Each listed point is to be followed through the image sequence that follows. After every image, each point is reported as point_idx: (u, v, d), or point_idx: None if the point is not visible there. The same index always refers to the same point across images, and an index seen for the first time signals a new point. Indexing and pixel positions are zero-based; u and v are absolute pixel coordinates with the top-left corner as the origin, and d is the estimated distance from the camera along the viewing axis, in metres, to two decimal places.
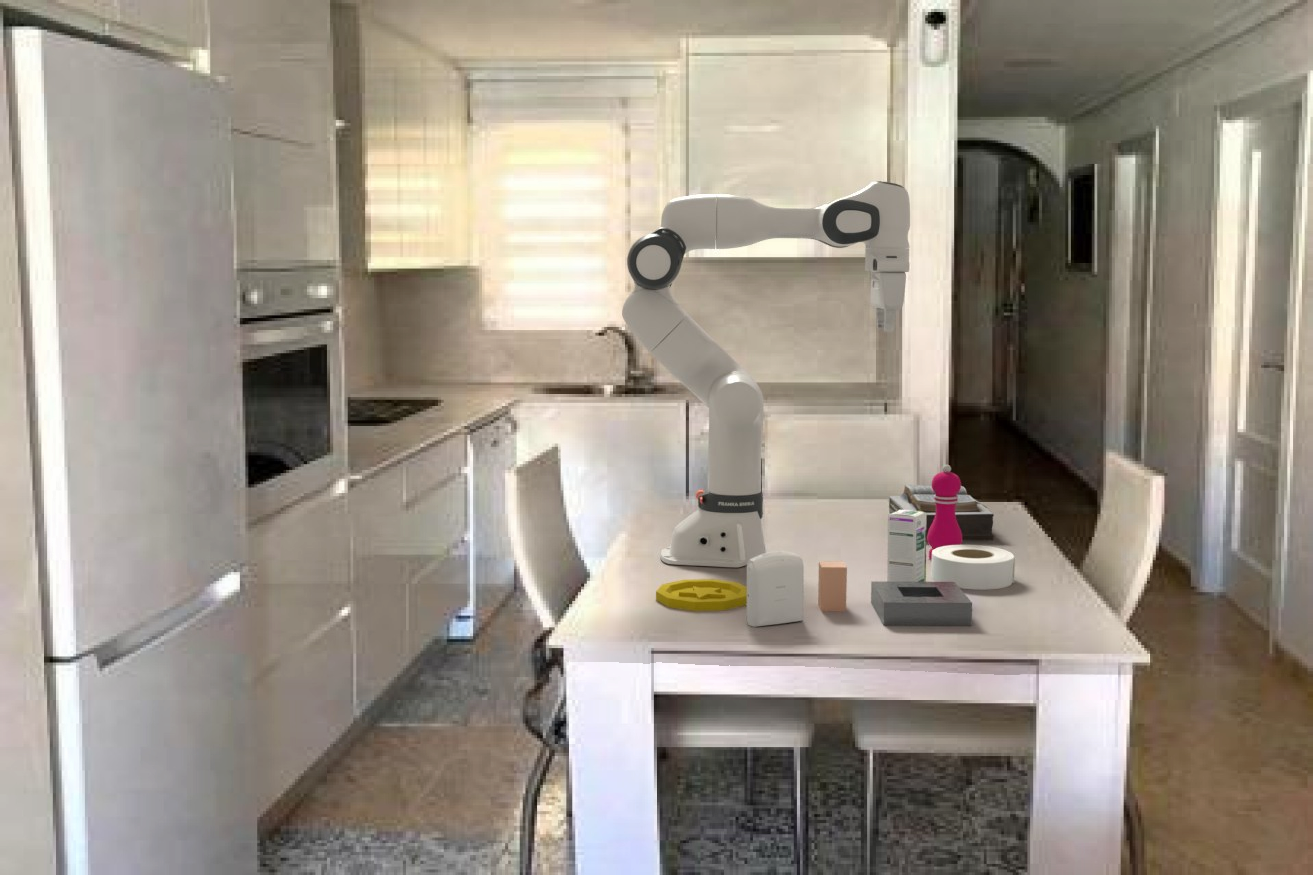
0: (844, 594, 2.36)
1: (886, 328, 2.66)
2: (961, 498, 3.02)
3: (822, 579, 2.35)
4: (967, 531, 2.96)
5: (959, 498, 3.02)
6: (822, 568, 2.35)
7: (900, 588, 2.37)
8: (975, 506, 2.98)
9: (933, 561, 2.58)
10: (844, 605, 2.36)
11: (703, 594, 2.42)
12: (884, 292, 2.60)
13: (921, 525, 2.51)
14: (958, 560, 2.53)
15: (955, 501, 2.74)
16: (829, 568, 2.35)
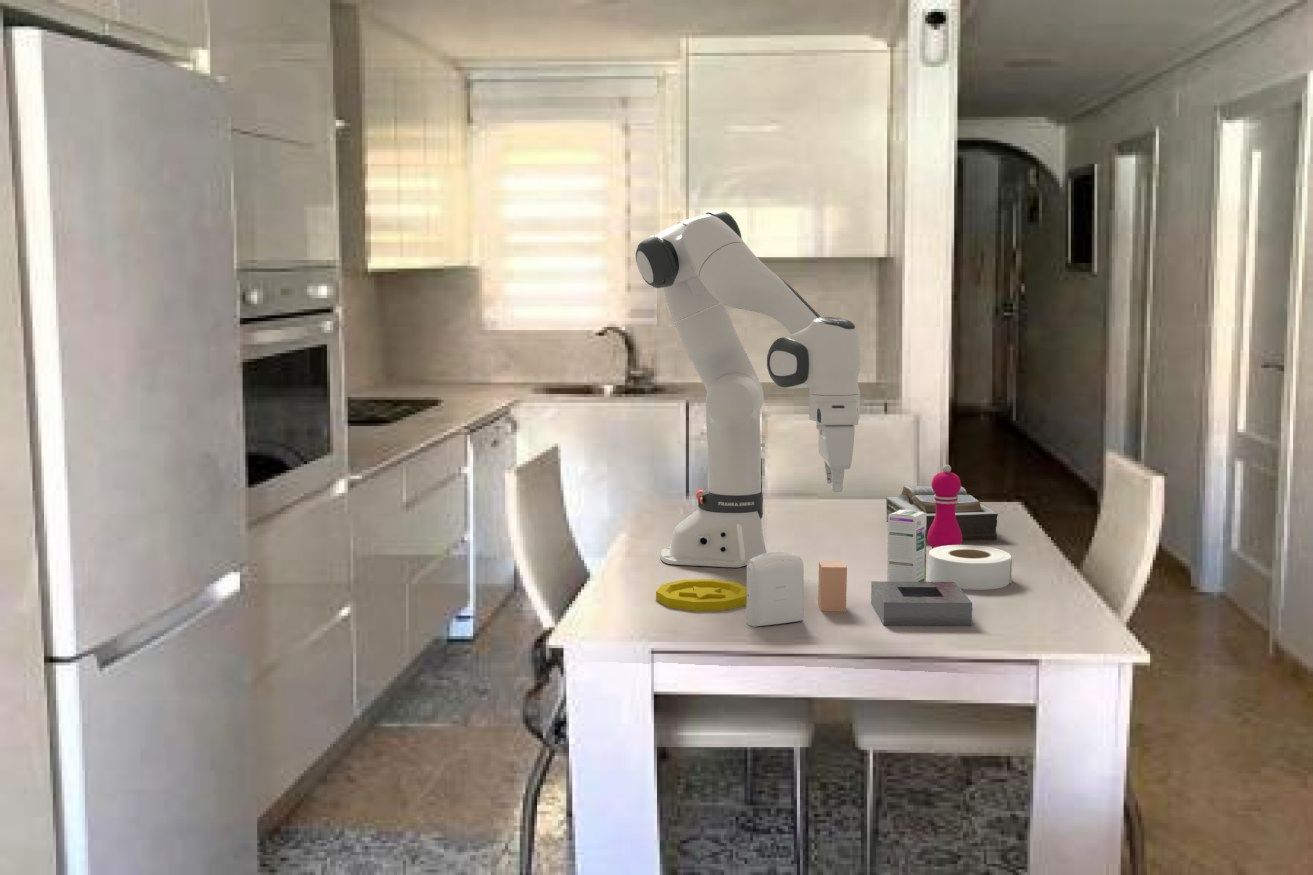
0: (844, 594, 2.36)
1: (833, 487, 2.30)
2: (963, 499, 3.01)
3: (822, 579, 2.35)
4: (972, 532, 2.96)
5: (962, 498, 3.01)
6: (822, 568, 2.35)
7: (900, 588, 2.37)
8: (979, 506, 2.98)
9: (930, 561, 2.58)
10: (844, 605, 2.36)
11: (703, 594, 2.42)
12: (829, 449, 2.25)
13: (921, 525, 2.51)
14: (955, 560, 2.53)
15: (955, 501, 2.74)
16: (829, 568, 2.35)
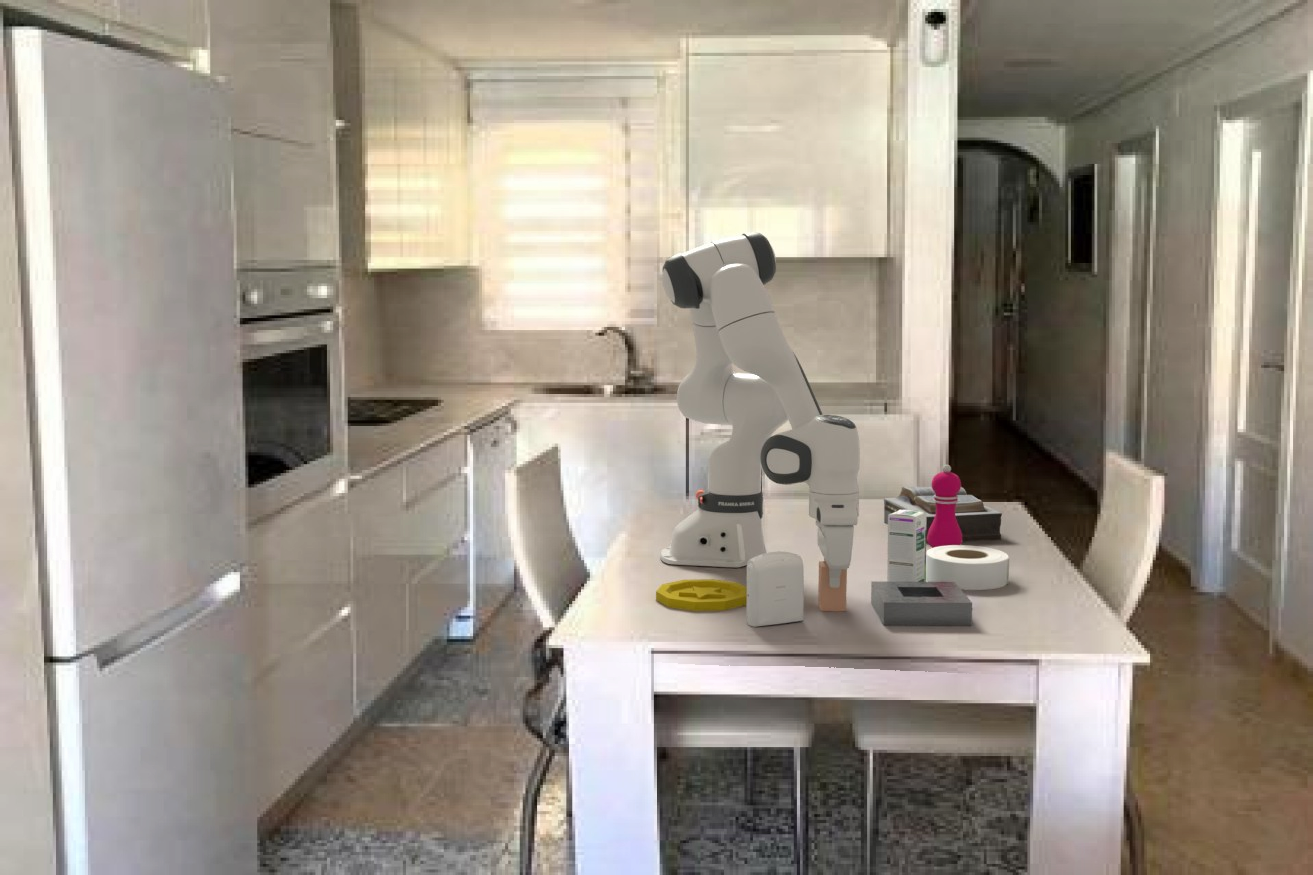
0: (844, 594, 2.36)
1: (831, 583, 2.34)
2: (966, 499, 3.01)
3: (822, 579, 2.35)
4: (977, 532, 2.96)
5: (964, 498, 3.01)
6: (822, 568, 2.35)
7: (900, 588, 2.37)
8: (982, 506, 2.98)
9: (927, 561, 2.58)
10: (844, 605, 2.36)
11: (703, 594, 2.42)
12: (828, 550, 2.27)
13: (921, 525, 2.51)
14: (952, 560, 2.53)
15: (955, 501, 2.74)
16: None
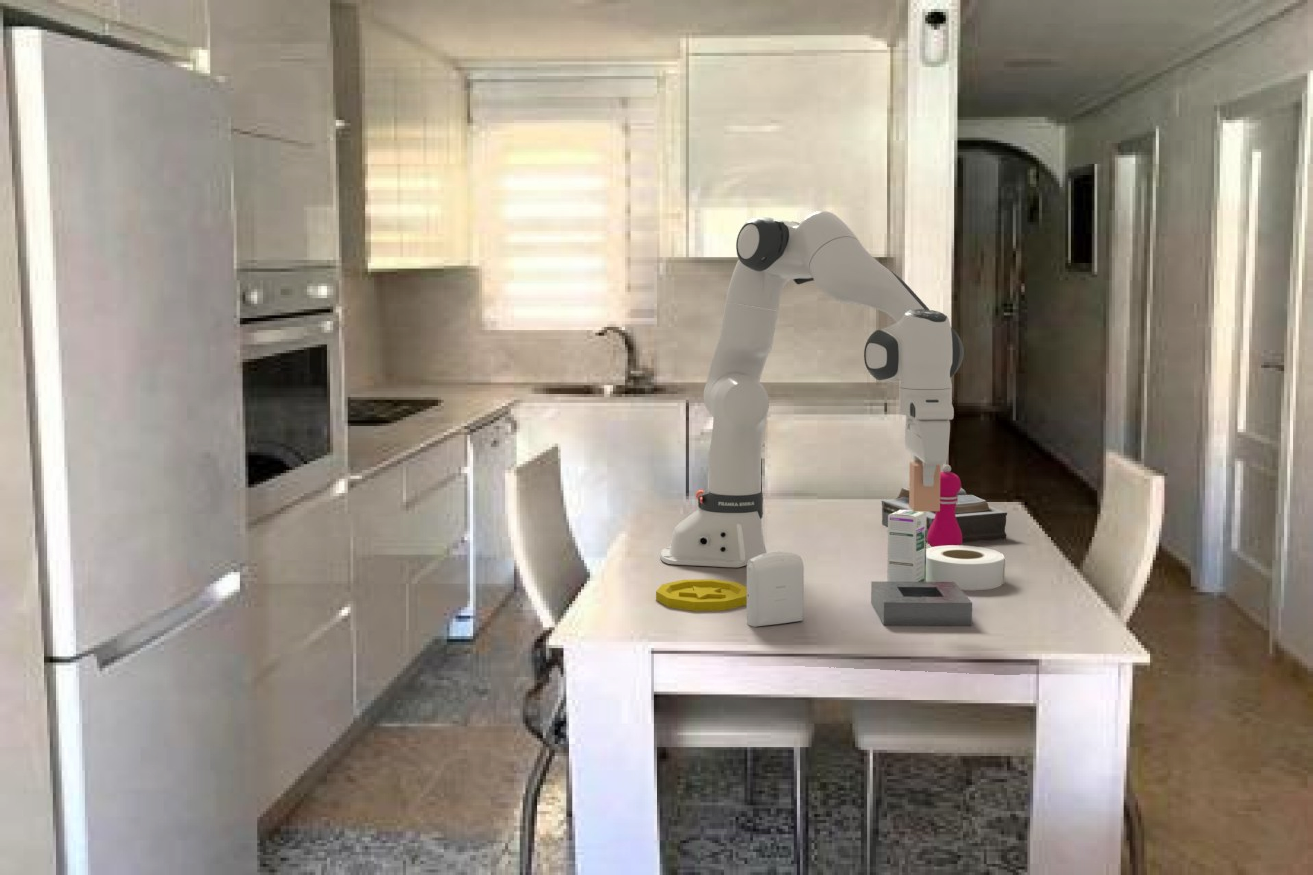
0: (938, 493, 2.29)
1: (924, 481, 2.27)
2: (969, 499, 3.01)
3: (915, 478, 2.29)
4: (984, 532, 2.96)
5: (968, 499, 3.01)
6: (915, 467, 2.29)
7: (900, 588, 2.37)
8: (987, 506, 2.98)
9: None
10: (938, 505, 2.29)
11: (703, 594, 2.42)
12: (924, 444, 2.20)
13: (921, 525, 2.51)
14: (948, 561, 2.53)
15: (955, 501, 2.74)
16: (922, 467, 2.29)
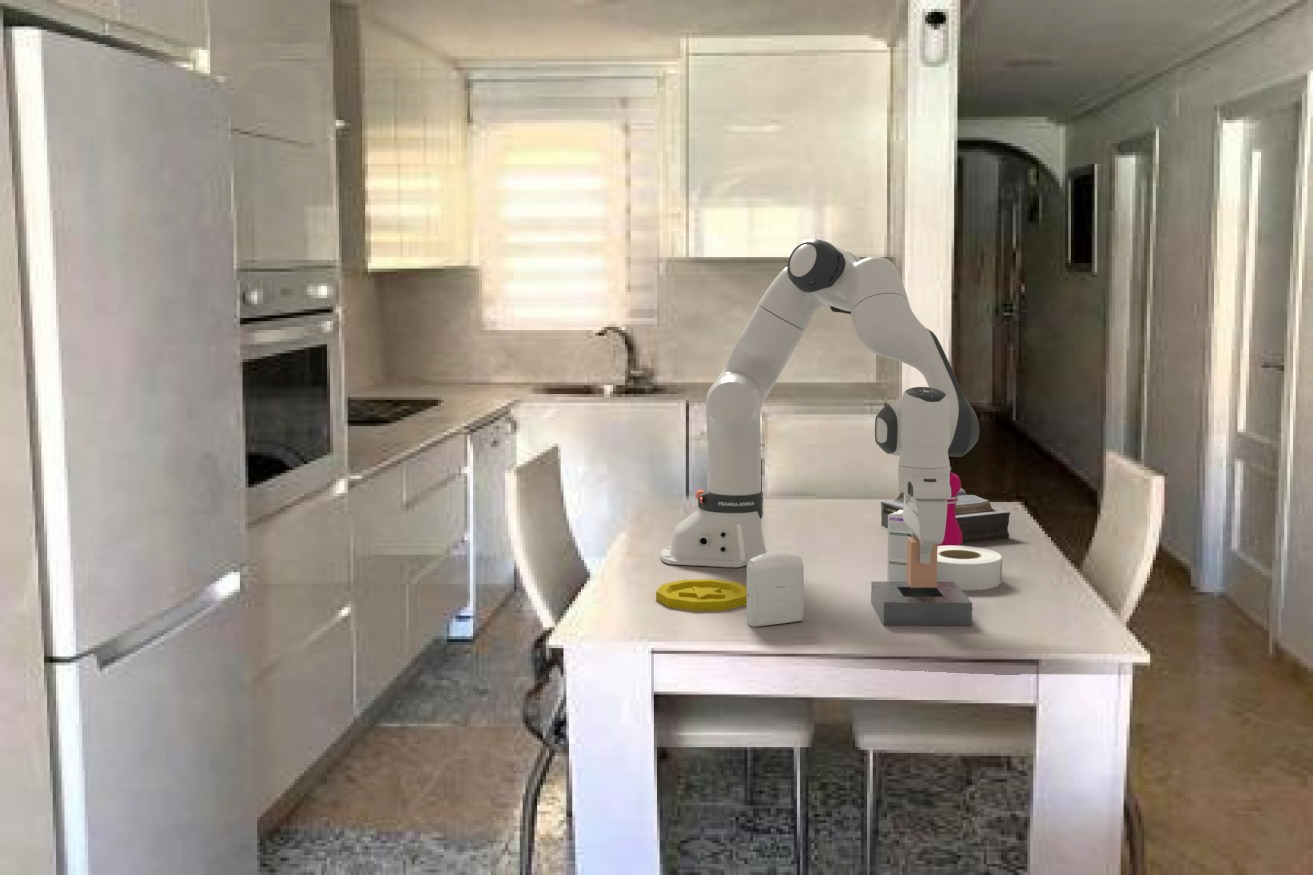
0: (934, 570, 2.31)
1: (921, 559, 2.29)
2: (971, 499, 3.01)
3: (912, 555, 2.30)
4: (988, 532, 2.96)
5: (970, 499, 3.01)
6: (912, 543, 2.30)
7: (900, 588, 2.37)
8: (990, 506, 2.99)
9: None
10: (935, 581, 2.31)
11: (703, 594, 2.42)
12: (922, 524, 2.22)
13: None
14: (945, 561, 2.53)
15: (955, 501, 2.74)
16: (919, 543, 2.30)
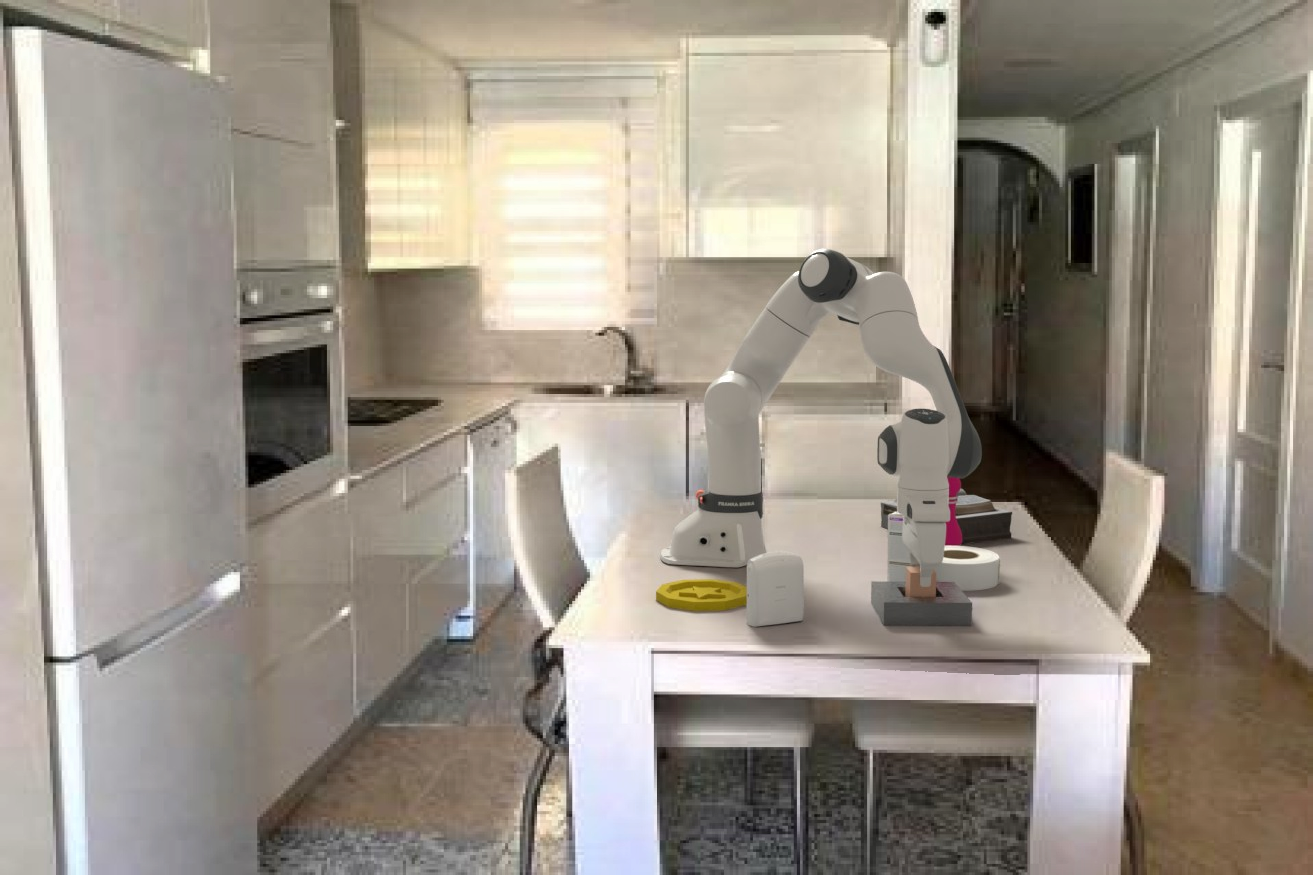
0: None
1: (922, 582, 2.28)
2: (973, 499, 3.01)
3: (911, 585, 2.31)
4: (991, 531, 2.96)
5: (972, 499, 3.01)
6: (911, 573, 2.31)
7: (900, 588, 2.37)
8: (992, 505, 2.99)
9: None
10: None
11: (703, 594, 2.42)
12: (921, 547, 2.23)
13: None
14: (942, 561, 2.52)
15: (955, 501, 2.74)
16: (918, 573, 2.31)
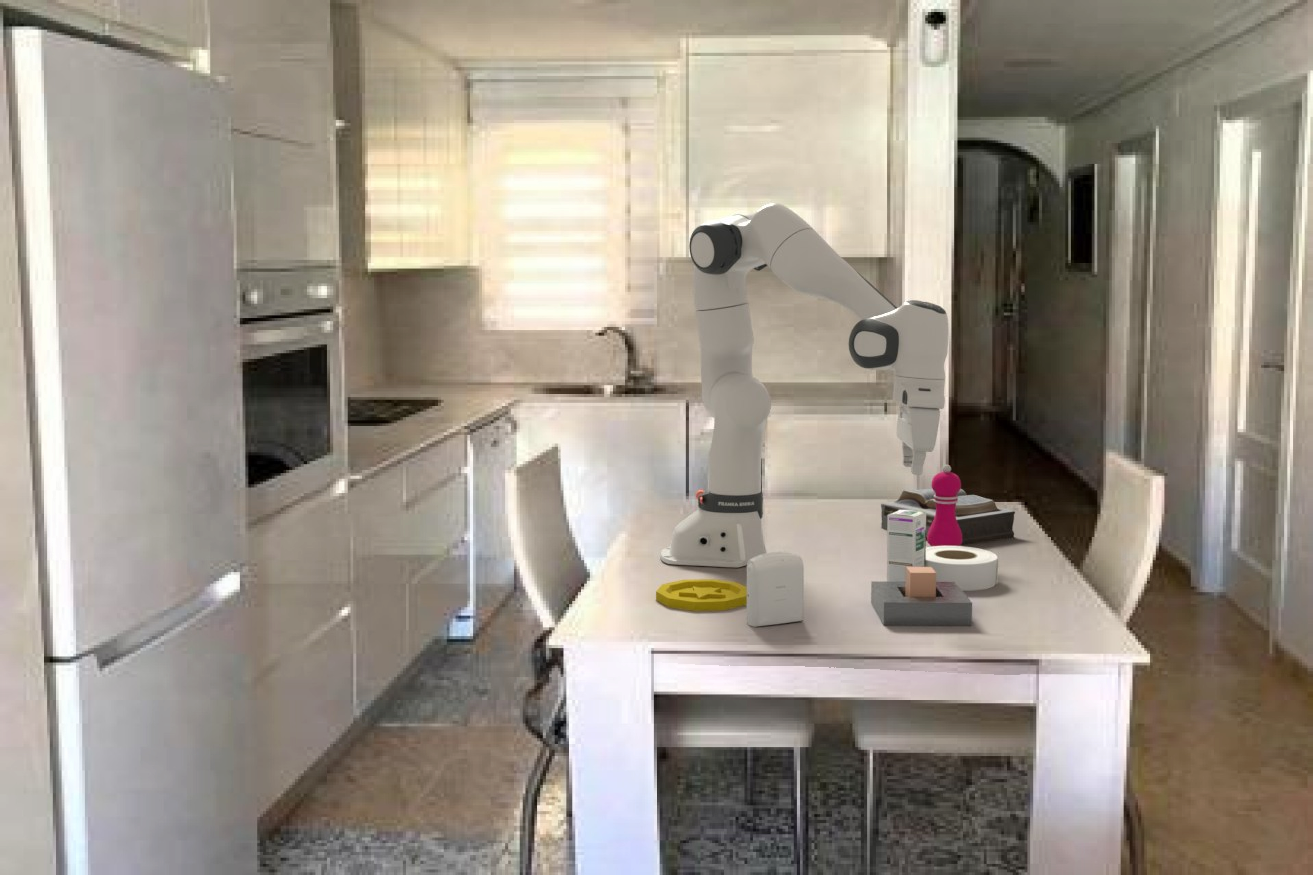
0: None
1: (913, 470, 2.31)
2: (976, 499, 3.01)
3: (911, 585, 2.31)
4: (996, 531, 2.97)
5: (974, 499, 3.01)
6: (911, 574, 2.31)
7: (900, 588, 2.37)
8: (995, 505, 2.99)
9: None
10: None
11: (703, 594, 2.42)
12: (914, 431, 2.26)
13: (921, 525, 2.51)
14: (940, 561, 2.52)
15: (955, 501, 2.74)
16: (918, 574, 2.31)
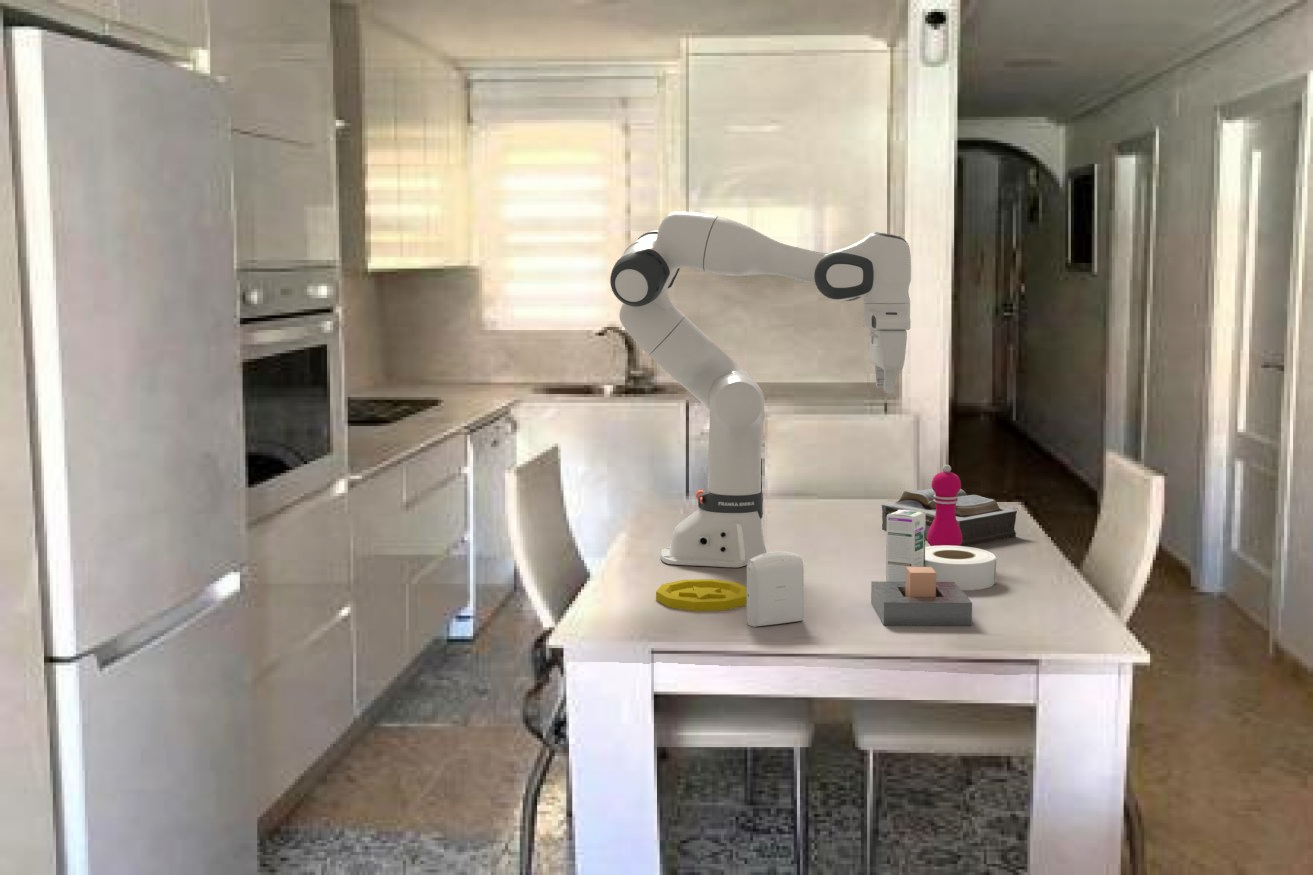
0: None
1: (886, 389, 2.49)
2: (978, 499, 3.01)
3: (911, 585, 2.31)
4: (999, 531, 2.97)
5: (976, 499, 3.01)
6: (911, 574, 2.31)
7: (900, 588, 2.37)
8: (997, 505, 3.00)
9: None
10: None
11: (703, 594, 2.42)
12: (884, 352, 2.44)
13: (920, 526, 2.51)
14: (939, 561, 2.53)
15: (955, 501, 2.74)
16: (918, 574, 2.31)
